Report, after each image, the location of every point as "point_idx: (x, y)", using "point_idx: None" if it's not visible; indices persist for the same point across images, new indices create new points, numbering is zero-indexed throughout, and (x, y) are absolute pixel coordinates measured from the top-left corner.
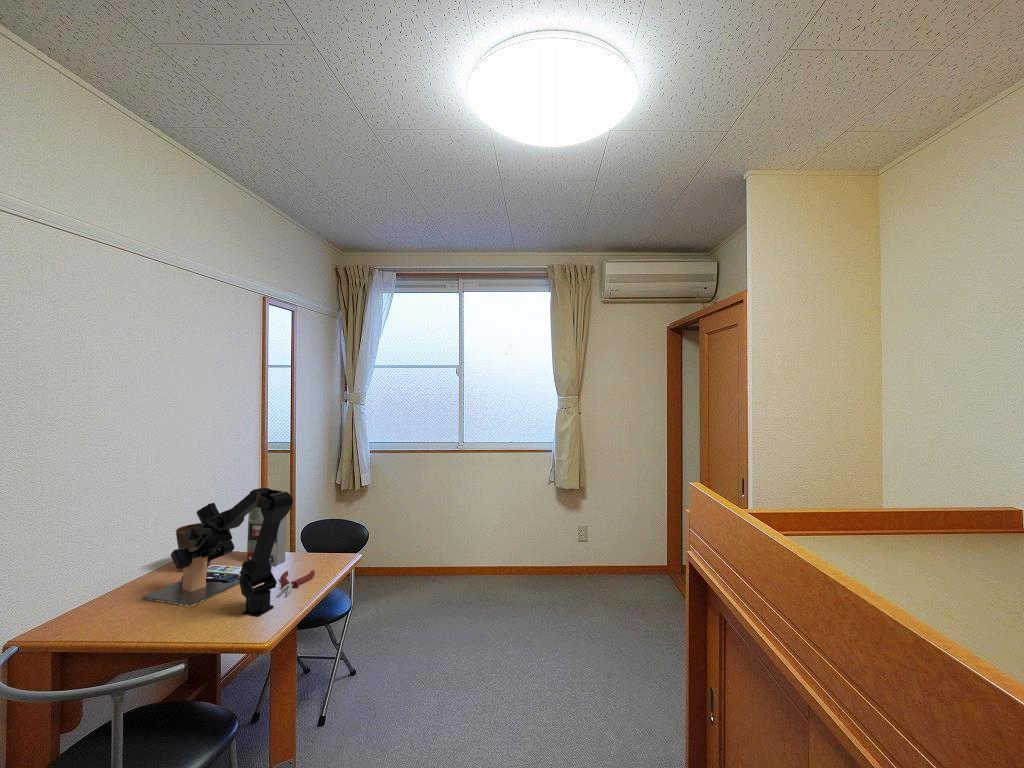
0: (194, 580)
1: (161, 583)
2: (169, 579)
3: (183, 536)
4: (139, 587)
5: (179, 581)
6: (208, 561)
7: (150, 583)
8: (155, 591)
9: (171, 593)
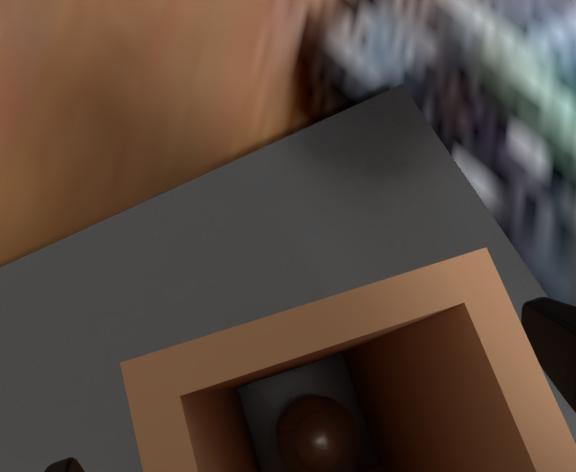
0: None
1: (154, 59)
2: (219, 18)
3: None
4: (21, 34)
5: (246, 158)
6: (559, 390)
7: (100, 8)
8: (34, 262)
9: (111, 429)
